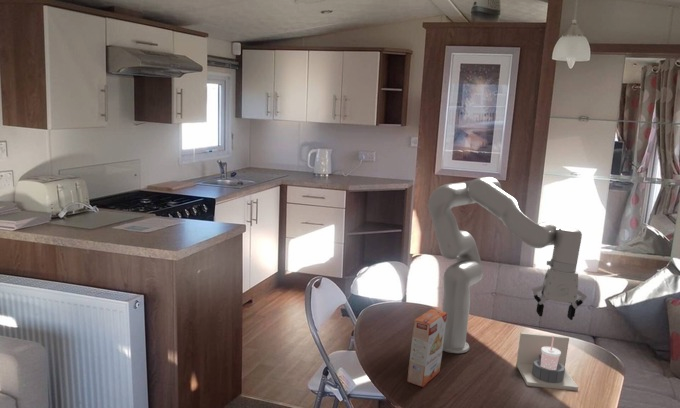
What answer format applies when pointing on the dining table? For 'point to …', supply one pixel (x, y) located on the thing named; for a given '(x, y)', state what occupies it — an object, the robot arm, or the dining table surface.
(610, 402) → the dining table surface
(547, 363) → the beverage cup
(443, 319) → the cracker box
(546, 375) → the bracket
